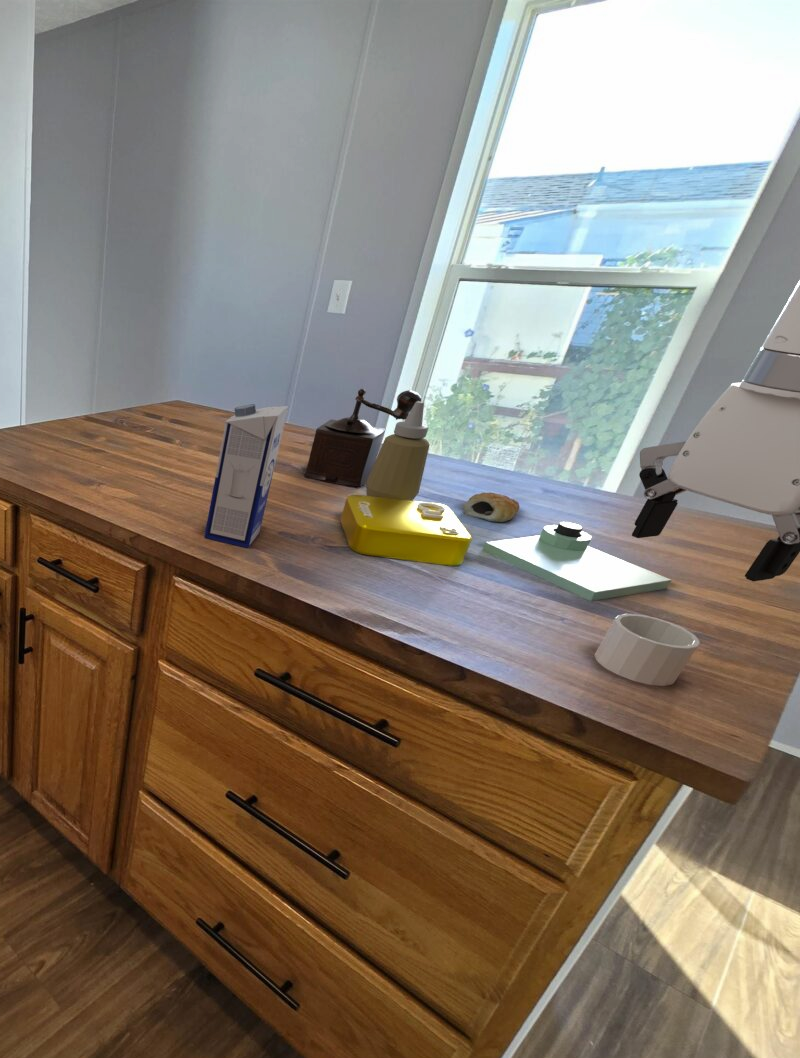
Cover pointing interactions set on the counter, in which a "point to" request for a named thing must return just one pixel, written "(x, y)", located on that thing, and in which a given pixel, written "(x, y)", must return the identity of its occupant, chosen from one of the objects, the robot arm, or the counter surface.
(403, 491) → the squeeze bottle
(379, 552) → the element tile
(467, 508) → the pastry
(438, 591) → the counter surface
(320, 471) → the manual coffee grinder
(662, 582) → the scale
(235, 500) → the milk carton
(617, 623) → the small bowl
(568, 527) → the tare button
